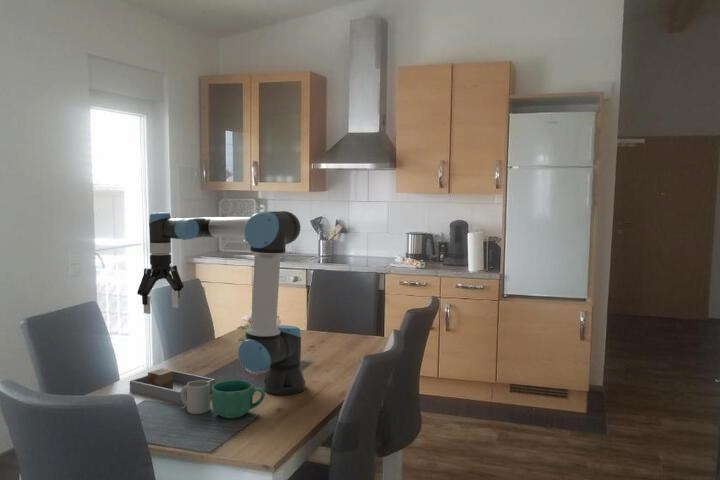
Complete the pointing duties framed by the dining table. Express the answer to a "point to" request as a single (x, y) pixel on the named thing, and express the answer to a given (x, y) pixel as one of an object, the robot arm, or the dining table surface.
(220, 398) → the mug
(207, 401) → the cup
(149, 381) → the walnut block
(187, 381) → the gray tray
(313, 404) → the dining table surface
